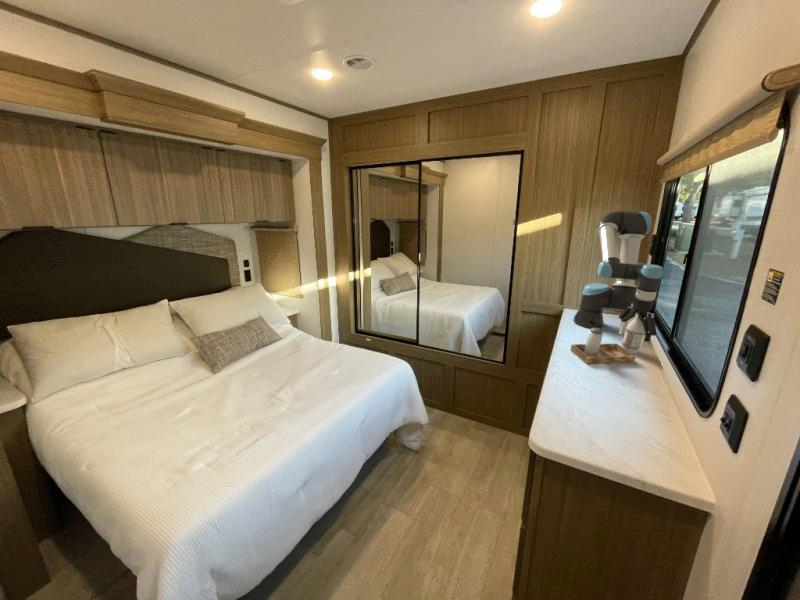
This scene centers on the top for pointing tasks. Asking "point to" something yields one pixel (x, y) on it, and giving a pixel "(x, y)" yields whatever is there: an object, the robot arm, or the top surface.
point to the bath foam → (633, 335)
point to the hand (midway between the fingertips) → (632, 340)
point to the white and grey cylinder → (593, 342)
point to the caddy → (604, 354)
